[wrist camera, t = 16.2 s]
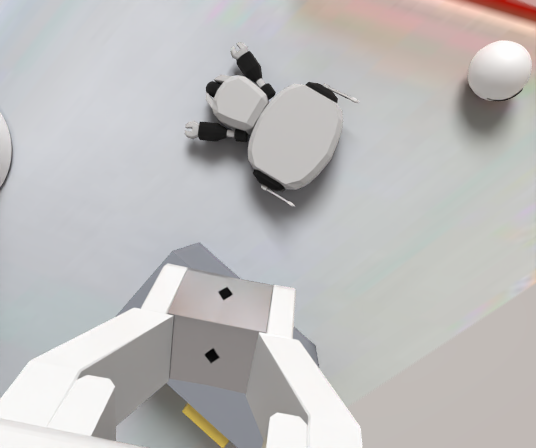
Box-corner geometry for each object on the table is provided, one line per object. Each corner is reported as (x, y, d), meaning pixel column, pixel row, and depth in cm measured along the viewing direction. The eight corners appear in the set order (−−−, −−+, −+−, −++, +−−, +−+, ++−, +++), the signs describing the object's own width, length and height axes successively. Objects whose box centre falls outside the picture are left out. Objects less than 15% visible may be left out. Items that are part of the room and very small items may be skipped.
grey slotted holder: (261, 405, 47) (251, 460, 37) (146, 302, 48) (105, 328, 37) (315, 345, 47) (321, 384, 36) (199, 242, 47) (172, 251, 37)
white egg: (459, 109, 45) (482, 94, 40) (457, 54, 45) (481, 32, 39) (534, 105, 45) (569, 90, 39) (533, 50, 45) (567, 27, 39)
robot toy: (185, 141, 48) (300, 211, 46) (171, 132, 43) (297, 210, 42) (242, 45, 47) (360, 113, 46) (234, 26, 43) (365, 100, 41)
